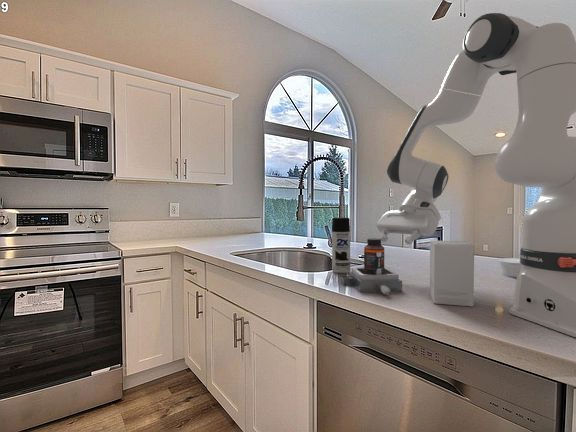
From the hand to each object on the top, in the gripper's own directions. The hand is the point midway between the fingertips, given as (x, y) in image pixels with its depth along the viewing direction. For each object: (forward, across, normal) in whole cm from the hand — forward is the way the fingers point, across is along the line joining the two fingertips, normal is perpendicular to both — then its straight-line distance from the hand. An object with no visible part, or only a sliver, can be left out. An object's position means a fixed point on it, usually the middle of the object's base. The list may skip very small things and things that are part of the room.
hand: (394, 241), depth 102 cm
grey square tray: (+18, +1, 0) cm, 18 cm away
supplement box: (+13, +21, +5) cm, 26 cm away
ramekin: (-20, +19, +38) cm, 47 cm away
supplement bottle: (+14, 0, 0) cm, 14 cm away
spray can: (+12, -21, +7) cm, 25 cm away
